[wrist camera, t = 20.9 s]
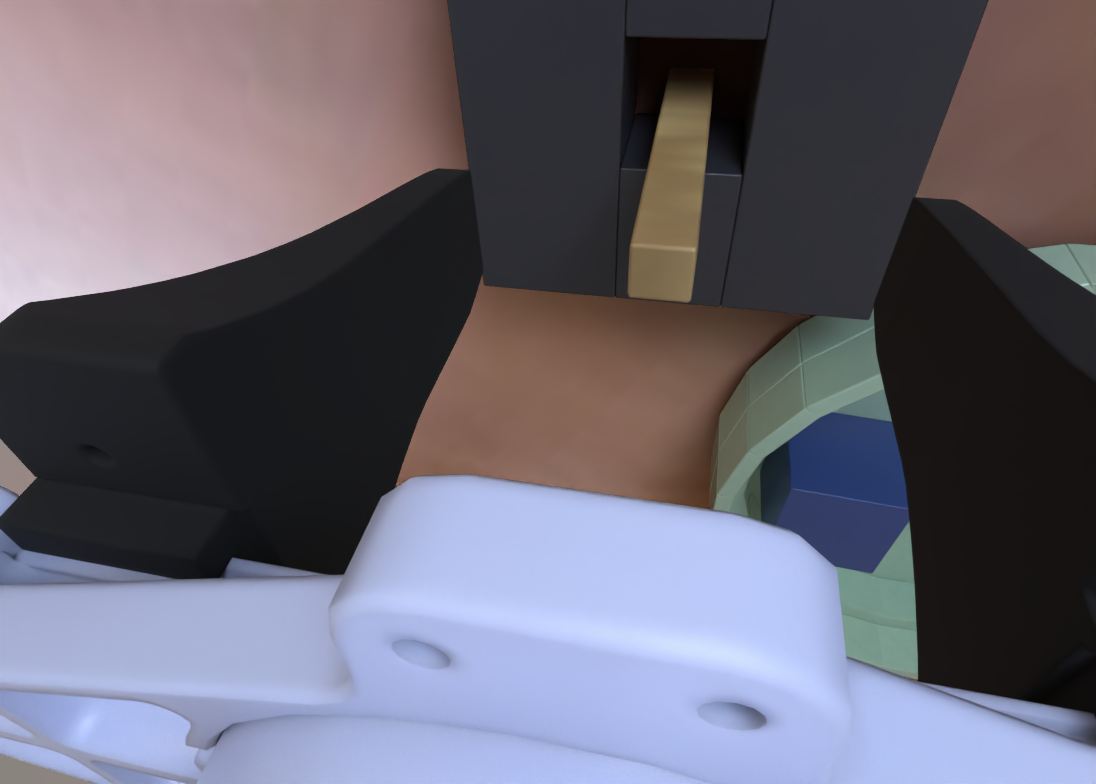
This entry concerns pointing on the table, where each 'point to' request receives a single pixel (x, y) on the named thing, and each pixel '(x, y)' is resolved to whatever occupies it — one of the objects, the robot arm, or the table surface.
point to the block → (839, 489)
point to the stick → (673, 192)
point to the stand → (733, 144)
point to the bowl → (800, 399)
